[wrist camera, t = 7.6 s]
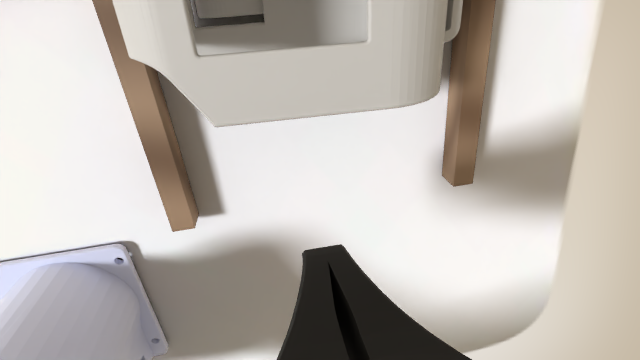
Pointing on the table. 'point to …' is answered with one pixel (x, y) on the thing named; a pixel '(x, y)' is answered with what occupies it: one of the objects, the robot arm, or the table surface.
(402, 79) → the cable organizer
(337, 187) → the table surface
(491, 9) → the rail channel
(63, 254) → the robot arm
